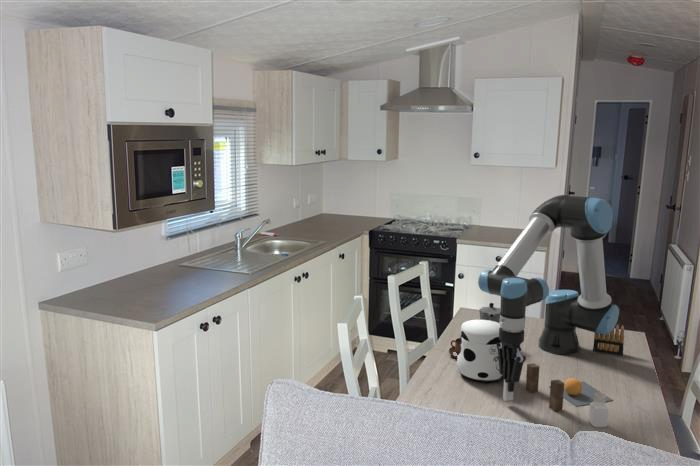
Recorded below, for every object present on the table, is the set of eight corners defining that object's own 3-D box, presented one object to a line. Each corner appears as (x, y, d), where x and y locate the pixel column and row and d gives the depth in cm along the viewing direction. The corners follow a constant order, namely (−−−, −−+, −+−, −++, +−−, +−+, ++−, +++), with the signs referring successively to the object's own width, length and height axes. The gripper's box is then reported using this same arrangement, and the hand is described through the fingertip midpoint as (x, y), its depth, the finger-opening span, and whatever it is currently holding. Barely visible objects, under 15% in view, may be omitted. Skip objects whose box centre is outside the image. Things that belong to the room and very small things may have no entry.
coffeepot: (502, 353, 218) (504, 309, 215) (477, 351, 220) (479, 307, 217) (501, 339, 233) (503, 297, 230) (477, 337, 235) (479, 295, 232)
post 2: (556, 406, 177) (558, 379, 175) (562, 410, 174) (564, 383, 173) (549, 407, 176) (550, 380, 175) (554, 411, 174) (556, 384, 172)
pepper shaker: (600, 421, 168) (603, 391, 166) (607, 428, 164) (610, 397, 162) (587, 421, 168) (590, 391, 166) (593, 428, 164) (596, 398, 162)
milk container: (514, 385, 191) (516, 335, 188) (464, 386, 190) (465, 336, 187) (497, 364, 208) (499, 317, 205) (451, 365, 207) (453, 319, 204)
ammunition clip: (622, 354, 217) (625, 324, 215) (622, 355, 216) (625, 326, 213) (592, 349, 222) (595, 320, 219) (592, 351, 220) (595, 322, 218)
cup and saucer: (445, 360, 213) (446, 344, 212) (451, 348, 224) (452, 333, 223) (478, 364, 208) (478, 349, 207) (482, 352, 219) (483, 337, 218)
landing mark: (583, 381, 194) (583, 381, 194) (613, 400, 180) (613, 400, 180) (548, 387, 190) (548, 386, 190) (575, 406, 177) (576, 406, 177)
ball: (562, 375, 185) (559, 391, 186) (573, 382, 180) (570, 398, 181) (575, 375, 187) (573, 390, 188) (587, 382, 182) (584, 398, 183)
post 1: (532, 388, 189) (534, 363, 187) (537, 391, 186) (539, 366, 185) (525, 389, 188) (527, 364, 187) (530, 393, 186) (532, 367, 184)
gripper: (490, 322, 178) (486, 391, 183) (512, 337, 166) (508, 410, 170) (510, 320, 180) (507, 388, 185) (534, 334, 168) (530, 407, 172)
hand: (508, 399), depth 177 cm, fingers closed
